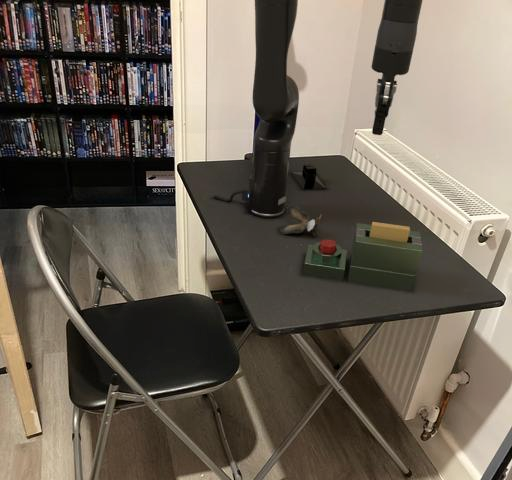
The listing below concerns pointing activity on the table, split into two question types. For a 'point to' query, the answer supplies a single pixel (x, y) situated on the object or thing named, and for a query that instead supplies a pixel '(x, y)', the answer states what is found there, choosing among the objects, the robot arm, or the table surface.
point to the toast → (389, 232)
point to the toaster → (384, 260)
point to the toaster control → (325, 263)
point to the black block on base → (308, 178)
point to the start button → (327, 246)
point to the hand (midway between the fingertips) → (376, 133)
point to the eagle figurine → (302, 218)
